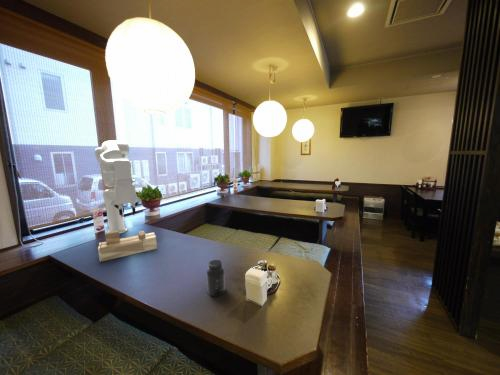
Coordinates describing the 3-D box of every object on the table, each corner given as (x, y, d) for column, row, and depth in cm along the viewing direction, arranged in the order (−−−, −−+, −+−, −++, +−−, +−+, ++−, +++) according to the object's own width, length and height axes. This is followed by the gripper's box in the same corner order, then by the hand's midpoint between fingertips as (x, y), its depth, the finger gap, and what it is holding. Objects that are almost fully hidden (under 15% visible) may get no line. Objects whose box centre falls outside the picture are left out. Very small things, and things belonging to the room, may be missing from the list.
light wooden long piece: (101, 255, 111) (99, 242, 110) (154, 243, 125) (153, 232, 124) (99, 261, 104) (97, 248, 103) (157, 248, 118) (155, 236, 117)
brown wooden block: (138, 235, 119) (138, 231, 119) (144, 234, 121) (143, 230, 120) (139, 239, 113) (139, 235, 113) (145, 238, 115) (145, 234, 114)
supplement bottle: (204, 291, 80) (202, 262, 78) (218, 283, 84) (217, 256, 83) (214, 299, 75) (212, 269, 73) (228, 291, 79) (227, 262, 78)
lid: (102, 244, 111) (100, 231, 110) (141, 236, 121) (139, 225, 120) (100, 250, 104) (99, 236, 102) (142, 241, 113) (141, 229, 112)
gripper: (141, 180, 117) (144, 211, 120) (105, 183, 108) (109, 216, 111) (142, 181, 111) (145, 214, 113) (104, 184, 102) (108, 219, 104)
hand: (127, 214), depth 112 cm, fingers open, 4 cm apart
